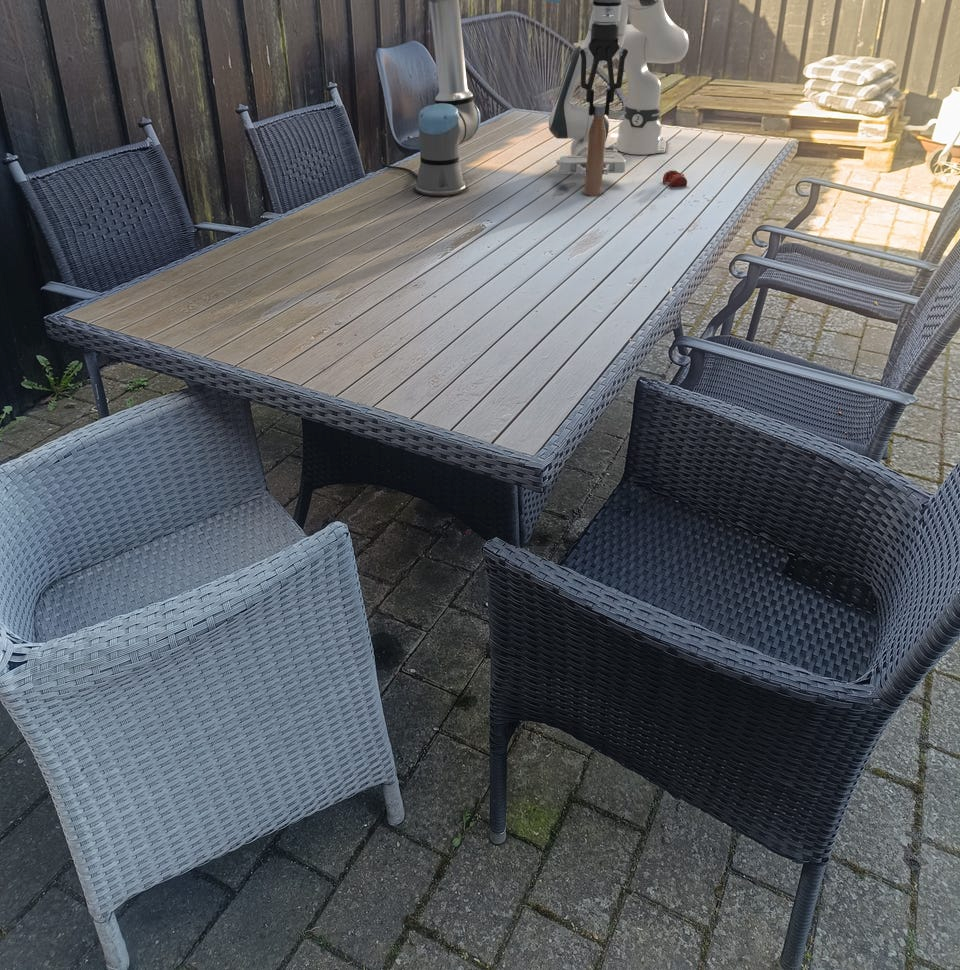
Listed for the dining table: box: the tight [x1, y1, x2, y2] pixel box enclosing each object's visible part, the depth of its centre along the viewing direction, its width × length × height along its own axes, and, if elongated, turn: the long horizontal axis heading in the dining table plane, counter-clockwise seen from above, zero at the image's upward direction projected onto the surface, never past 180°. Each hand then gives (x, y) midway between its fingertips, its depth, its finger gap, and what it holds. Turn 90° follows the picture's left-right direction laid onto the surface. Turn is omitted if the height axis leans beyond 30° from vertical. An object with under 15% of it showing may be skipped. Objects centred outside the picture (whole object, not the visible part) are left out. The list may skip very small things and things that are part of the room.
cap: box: [593, 103, 606, 116], centre depth 242 cm, size 4×4×2 cm
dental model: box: [662, 169, 688, 188], centre depth 261 cm, size 6×4×8 cm
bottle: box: [583, 115, 607, 197], centre depth 249 cm, size 5×5×24 cm
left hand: (598, 114), depth 243 cm, fingers closed on cap, 4 cm apart
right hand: (594, 171), depth 251 cm, fingers closed on bottle, 5 cm apart
